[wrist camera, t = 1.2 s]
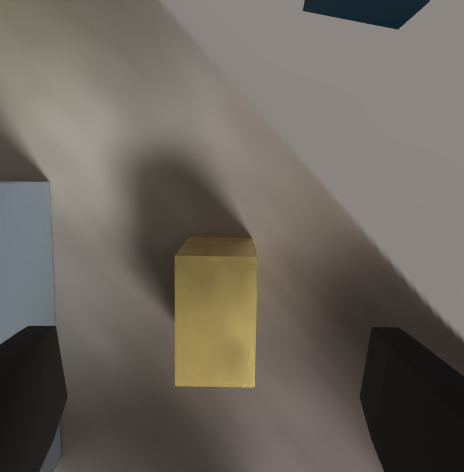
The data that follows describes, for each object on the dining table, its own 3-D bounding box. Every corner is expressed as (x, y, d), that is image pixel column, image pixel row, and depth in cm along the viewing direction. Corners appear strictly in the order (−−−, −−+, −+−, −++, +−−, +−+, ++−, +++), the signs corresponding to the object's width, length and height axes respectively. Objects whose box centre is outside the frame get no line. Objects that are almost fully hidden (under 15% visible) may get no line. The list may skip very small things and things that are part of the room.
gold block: (249, 338, 21) (254, 387, 16) (188, 337, 21) (175, 385, 16) (251, 237, 21) (257, 257, 16) (188, 236, 21) (174, 255, 16)
